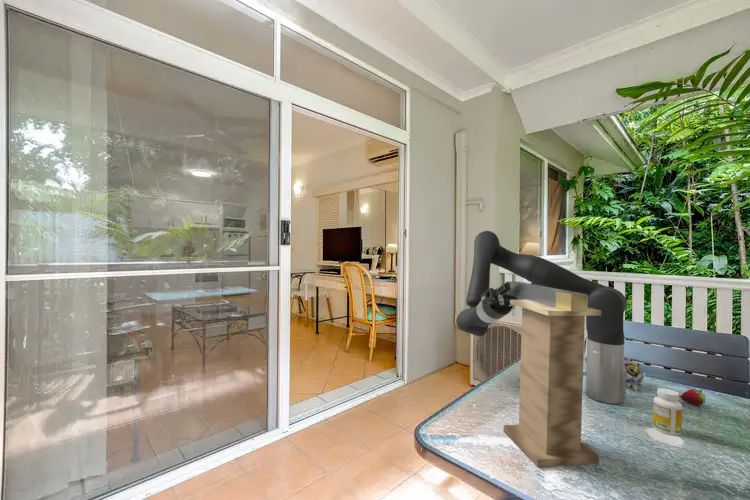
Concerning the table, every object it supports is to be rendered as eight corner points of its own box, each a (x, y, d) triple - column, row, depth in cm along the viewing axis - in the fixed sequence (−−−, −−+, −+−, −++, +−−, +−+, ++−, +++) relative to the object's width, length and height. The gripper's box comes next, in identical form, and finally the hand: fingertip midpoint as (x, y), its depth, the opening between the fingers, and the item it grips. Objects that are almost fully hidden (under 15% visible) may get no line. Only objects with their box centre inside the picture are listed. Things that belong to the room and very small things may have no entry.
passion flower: (633, 406, 106) (627, 381, 102) (599, 386, 116) (593, 363, 112) (655, 384, 109) (650, 359, 104) (620, 367, 119) (614, 343, 114)
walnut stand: (554, 427, 82) (558, 299, 82) (600, 463, 69) (605, 310, 68) (502, 430, 80) (506, 299, 80) (539, 468, 66) (543, 310, 66)
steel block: (518, 294, 90) (518, 281, 90) (587, 311, 66) (587, 294, 66) (505, 294, 90) (506, 281, 90) (570, 311, 66) (571, 294, 66)
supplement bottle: (674, 426, 84) (675, 388, 84) (686, 438, 79) (687, 397, 79) (648, 422, 86) (650, 385, 86) (658, 433, 81) (660, 394, 81)
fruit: (684, 398, 101) (684, 382, 101) (709, 407, 95) (710, 390, 95) (675, 400, 99) (676, 384, 99) (701, 409, 94) (701, 392, 94)
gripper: (468, 295, 101) (493, 272, 86) (512, 295, 103) (543, 273, 88) (473, 319, 97) (499, 299, 83) (518, 319, 99) (551, 299, 85)
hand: (522, 285), depth 86 cm, fingers open, 7 cm apart
